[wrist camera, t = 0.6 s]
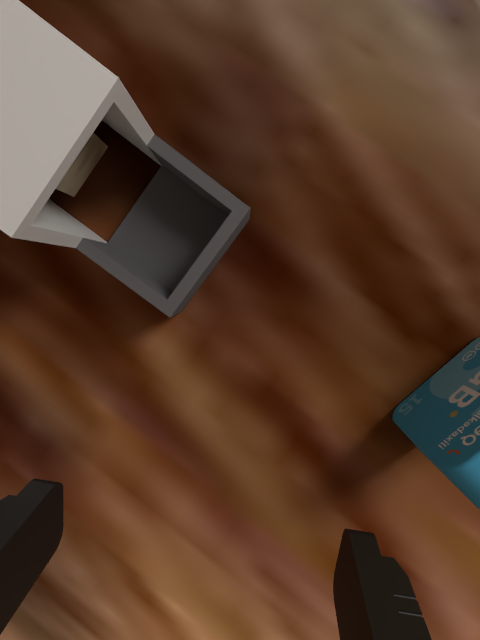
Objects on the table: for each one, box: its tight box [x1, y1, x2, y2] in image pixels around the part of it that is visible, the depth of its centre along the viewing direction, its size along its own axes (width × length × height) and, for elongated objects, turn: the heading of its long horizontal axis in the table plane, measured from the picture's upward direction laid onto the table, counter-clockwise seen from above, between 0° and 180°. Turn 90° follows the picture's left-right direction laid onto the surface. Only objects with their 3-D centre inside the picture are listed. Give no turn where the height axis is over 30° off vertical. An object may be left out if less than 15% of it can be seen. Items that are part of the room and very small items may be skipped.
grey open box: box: [76, 134, 250, 317], centre depth 33 cm, size 10×9×6 cm
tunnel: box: [0, 0, 162, 248], centre depth 29 cm, size 10×11×14 cm
